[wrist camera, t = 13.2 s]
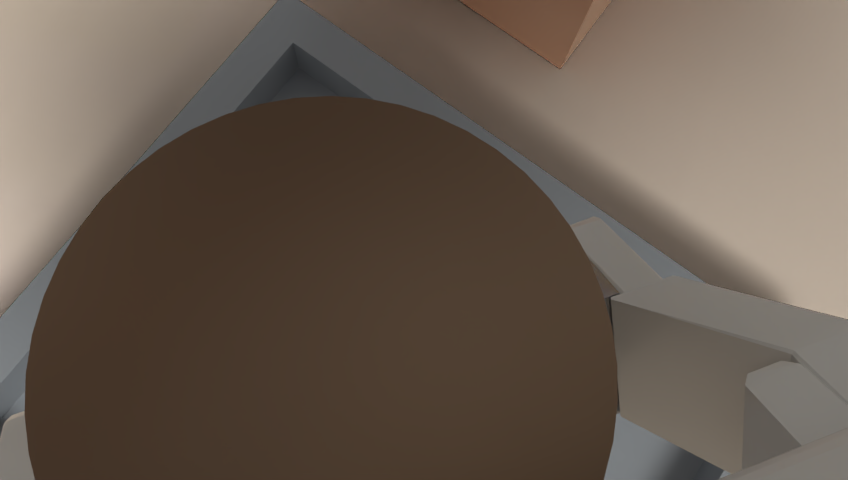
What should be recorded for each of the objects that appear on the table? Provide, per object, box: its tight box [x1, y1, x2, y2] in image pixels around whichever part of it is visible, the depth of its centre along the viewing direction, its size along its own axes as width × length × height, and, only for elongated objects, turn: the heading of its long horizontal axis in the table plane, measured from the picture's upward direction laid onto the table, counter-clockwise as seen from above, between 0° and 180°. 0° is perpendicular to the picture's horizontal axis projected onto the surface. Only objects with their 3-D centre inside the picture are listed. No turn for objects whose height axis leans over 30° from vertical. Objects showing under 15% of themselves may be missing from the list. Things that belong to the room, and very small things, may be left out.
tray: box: [0, 0, 730, 480], centre depth 19 cm, size 16×14×2 cm
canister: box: [25, 96, 618, 480], centre depth 11 cm, size 4×4×10 cm
